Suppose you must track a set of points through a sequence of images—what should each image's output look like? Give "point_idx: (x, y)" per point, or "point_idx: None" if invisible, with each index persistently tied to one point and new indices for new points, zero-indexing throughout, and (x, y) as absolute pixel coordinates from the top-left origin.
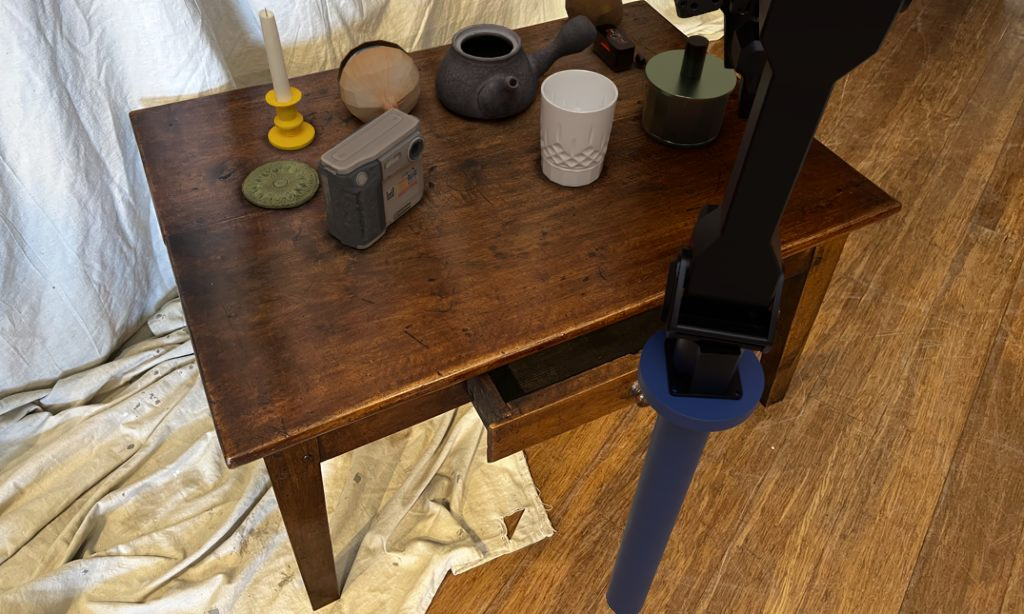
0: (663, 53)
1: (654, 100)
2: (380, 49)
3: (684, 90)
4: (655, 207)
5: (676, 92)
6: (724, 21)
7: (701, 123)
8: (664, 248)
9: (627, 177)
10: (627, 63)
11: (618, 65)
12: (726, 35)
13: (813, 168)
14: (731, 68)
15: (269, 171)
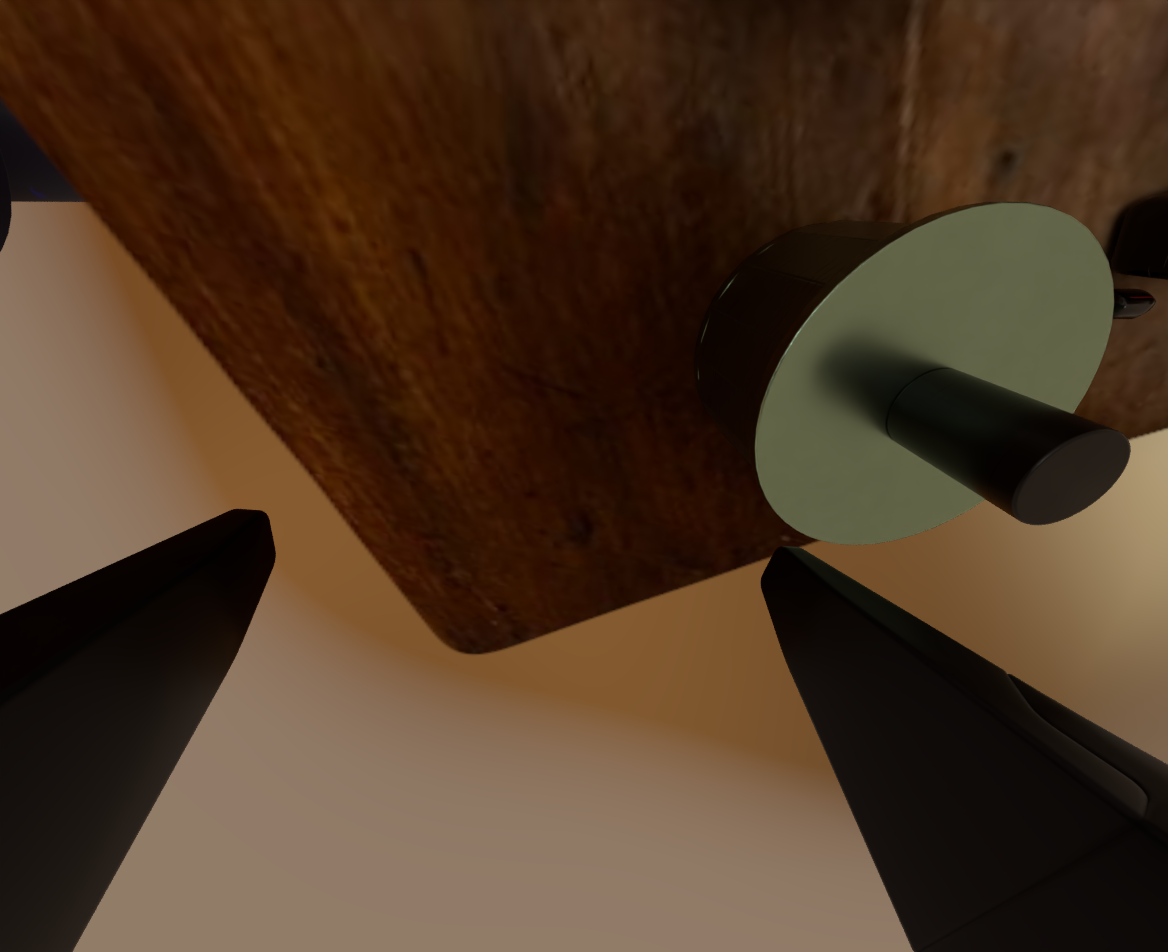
0: (1101, 334)
1: (875, 237)
2: None
3: (836, 351)
4: (422, 135)
5: (837, 311)
6: (1123, 764)
7: (724, 389)
8: (193, 98)
9: (591, 66)
10: (1136, 250)
11: (1150, 212)
12: (956, 694)
13: (574, 585)
14: (764, 573)
15: None
